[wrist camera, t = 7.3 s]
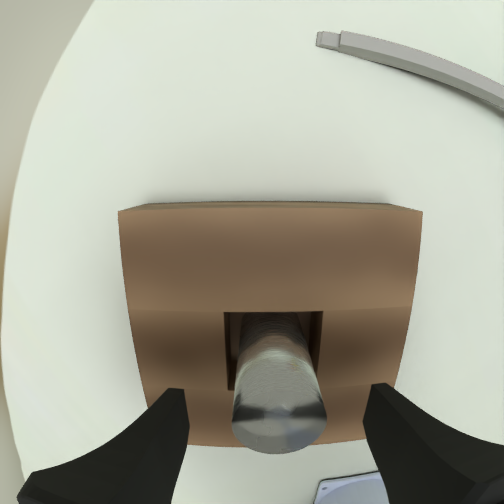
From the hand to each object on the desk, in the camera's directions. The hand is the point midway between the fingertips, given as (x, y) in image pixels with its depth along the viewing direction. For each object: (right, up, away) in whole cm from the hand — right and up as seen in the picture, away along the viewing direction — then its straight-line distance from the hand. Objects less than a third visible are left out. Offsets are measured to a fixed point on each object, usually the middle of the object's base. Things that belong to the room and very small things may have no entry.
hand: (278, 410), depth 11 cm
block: (0, +2, +8) cm, 8 cm away
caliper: (+13, +17, +5) cm, 22 cm away
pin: (0, +2, +7) cm, 7 cm away
